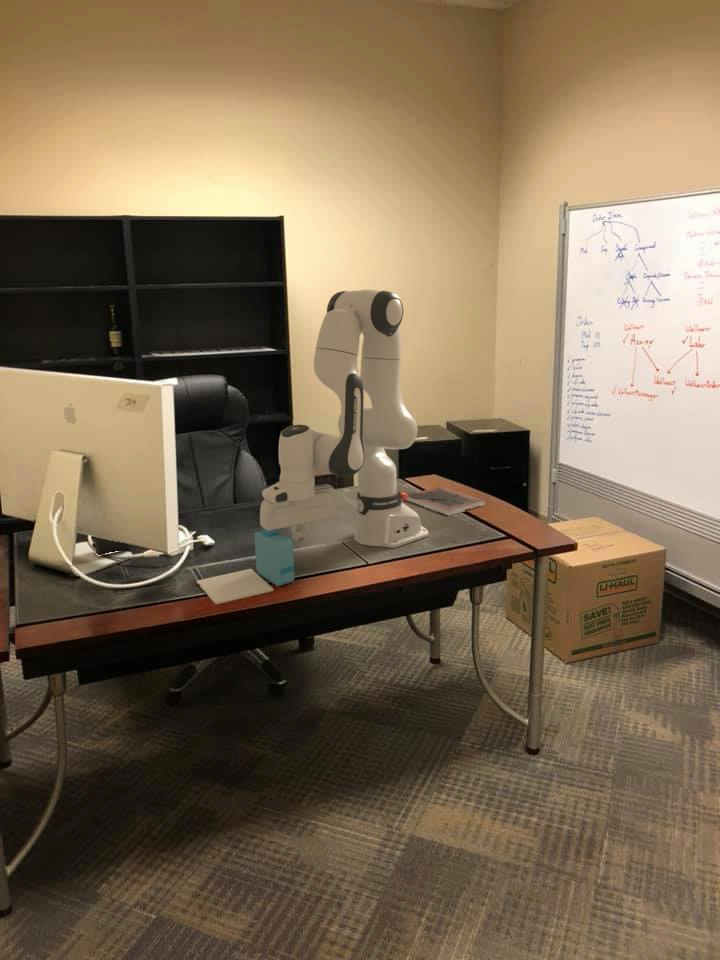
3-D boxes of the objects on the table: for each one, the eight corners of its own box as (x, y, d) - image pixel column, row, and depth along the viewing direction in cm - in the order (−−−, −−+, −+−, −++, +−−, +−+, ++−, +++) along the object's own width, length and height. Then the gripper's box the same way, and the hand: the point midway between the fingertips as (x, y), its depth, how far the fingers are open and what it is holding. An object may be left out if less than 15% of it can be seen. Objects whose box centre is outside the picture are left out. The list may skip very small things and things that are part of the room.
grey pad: (251, 570, 198) (251, 568, 198) (273, 590, 185) (273, 588, 185) (196, 582, 191) (196, 580, 191) (215, 604, 178) (215, 602, 178)
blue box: (295, 583, 189) (293, 539, 186) (279, 588, 187) (277, 543, 183) (271, 569, 198) (268, 526, 195) (256, 573, 196) (253, 530, 193)
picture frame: (404, 501, 254) (448, 517, 238) (404, 494, 254) (448, 510, 237) (440, 492, 264) (484, 507, 247) (440, 485, 263) (484, 500, 247)
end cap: (100, 560, 206) (97, 537, 204) (91, 553, 212) (89, 530, 210) (135, 551, 212) (132, 529, 210) (126, 544, 217) (123, 523, 216)
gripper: (328, 480, 197) (329, 529, 201) (256, 492, 187) (258, 543, 191) (339, 485, 192) (340, 536, 196) (265, 498, 182) (268, 551, 186)
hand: (299, 539), depth 193 cm, fingers closed
